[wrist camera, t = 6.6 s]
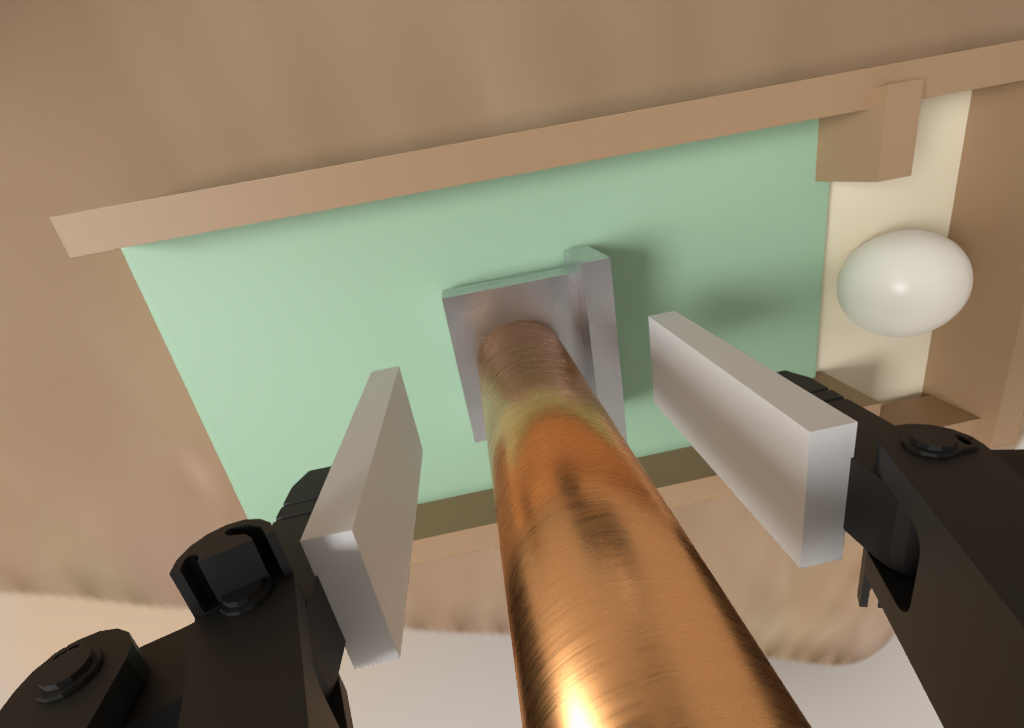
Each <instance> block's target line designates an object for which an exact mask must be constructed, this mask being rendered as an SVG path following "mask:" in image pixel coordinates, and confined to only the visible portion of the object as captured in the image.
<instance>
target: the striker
mask: <svg viewBox="0 0 1024 728" xmlns="http://www.w3.org/2000/svg"><path fill="white" fill-rule="evenodd" d="M563 253H564V261H565V266H563V267H558V268H553V269H548V270H542V271H537V272H532V273H527V274H522V275H517V276H512V277H506V278H501V279H496V280H491V281H486V282H481V283H476V284H471V285H465V286H460V287H455V288H450V289H445V290H443V291H442V302H443V306H444V311H445V315H446V319H447V324H448V328H449V332H450V337H451V341H452V345H453V350H454V354H455V358H456V362H457V367H458V371H459V375H460V380H461V384H462V388H463V393H464V397H465V401H466V406H467V410H468V414H469V419H470V423H471V427H472V431H473V436H474V440H475V443H477V442H482V441H487V447H488V455H489V463H490V471H491V479H492V487H493V495H494V503H495V511H496V519H497V527H498V535H499V543H500V551H501V559H502V567H503V575H504V583H505V591H506V599H507V607H508V615H509V623H510V631H511V639H512V647H513V655H514V663H515V671H516V679H517V687H518V695H519V703H520V711H521V719H522V728H812V727H811V726H810V724H809V723H808V721H807V720H806V718H805V717H804V715H803V714H802V712H801V711H800V709H799V707H798V706H797V704H796V703H795V701H794V700H793V698H792V697H791V695H790V693H789V692H788V691H787V689H786V687H785V686H784V685H783V683H782V681H781V680H780V678H779V677H778V675H777V673H776V672H775V671H774V669H773V667H772V666H771V664H770V663H769V661H768V660H767V658H766V656H765V655H764V653H763V652H762V650H761V649H760V647H759V646H758V644H757V643H756V641H755V640H754V638H753V636H752V635H751V633H750V632H749V630H748V629H747V627H746V626H745V624H744V623H743V621H742V619H741V618H740V616H739V615H738V613H737V612H736V610H735V609H734V607H733V606H732V604H731V603H730V601H729V599H728V598H727V596H726V595H725V593H724V592H723V590H722V589H721V587H720V586H719V584H718V583H717V581H716V579H715V578H714V576H713V575H712V573H711V572H710V570H709V569H708V567H707V566H706V564H705V563H704V561H703V559H702V558H701V556H700V555H699V553H698V552H697V550H696V549H695V547H694V546H693V544H692V542H691V541H690V539H689V538H688V536H687V535H686V533H685V532H684V530H683V529H682V527H681V526H680V524H679V522H678V521H677V519H676V518H675V516H674V515H673V513H672V512H671V510H670V509H669V507H668V506H667V504H666V502H665V501H664V499H663V498H662V496H661V495H660V493H659V492H658V490H657V489H656V487H655V485H654V484H653V482H652V481H651V479H650V478H649V476H648V475H647V473H646V472H645V470H644V469H643V467H642V465H641V464H640V462H639V461H638V459H637V458H636V456H635V455H634V453H633V452H632V450H631V449H630V447H629V445H628V443H627V432H626V421H625V411H624V400H623V389H622V378H621V368H620V357H619V346H618V336H617V325H616V314H615V304H614V293H613V282H612V272H611V261H610V257H608V256H606V255H604V254H602V253H601V252H599V251H597V250H595V249H593V248H591V247H589V246H584V247H579V248H574V249H568V250H563Z"/></svg>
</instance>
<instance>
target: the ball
mask: <svg viewBox="0 0 1024 728" xmlns="http://www.w3.org/2000/svg"><path fill="white" fill-rule="evenodd" d="M972 287H973V269H972V265H971V262H970V260H969V258H968V256H967V255H966V253H965V252H964V251H963V249H962V248H961V247H960V246H959V245H957V244H956V243H955V242H954V241H952V240H950V239H949V238H947V237H945V236H943V235H940V234H938V233H934V232H931V231H926V230H917V229H909V230H898V231H893V232H889V233H886V234H882V235H880V236H877V237H875V238H873V239H871V240H869V241H868V242H866V243H864V244H863V245H861V246H860V247H859V248H858V249H857V250H855V251H854V252H853V253H852V254H851V255H850V256H849V258H848V259H847V260H846V262H845V263H844V265H843V267H842V269H841V271H840V273H839V276H838V280H837V298H838V301H839V304H840V306H841V308H842V310H843V312H844V313H845V315H846V316H847V317H848V318H849V319H850V320H851V321H852V322H853V323H854V324H856V325H857V326H859V327H860V328H862V329H864V330H866V331H868V332H871V333H874V334H877V335H881V336H886V337H910V336H915V335H920V334H924V333H927V332H930V331H932V330H934V329H936V328H938V327H940V326H942V325H944V324H945V323H947V322H948V321H950V320H951V319H952V318H953V317H954V316H956V315H957V314H958V313H959V311H960V310H961V309H962V308H963V306H964V305H965V304H966V302H967V300H968V298H969V296H970V294H971V291H972Z"/></svg>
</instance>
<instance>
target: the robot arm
mask: <svg viewBox="0 0 1024 728" xmlns="http://www.w3.org/2000/svg"><path fill="white" fill-rule="evenodd" d="M648 320H649V335H650V349H651V364H652V379H653V394H654V403H655V405H656V406H657V407H658V408H659V409H660V410H661V411H662V412H663V414H664V415H665V416H666V417H667V418H668V419H669V420H670V421H671V423H672V424H673V425H674V426H675V427H676V428H677V429H678V431H679V432H680V433H681V434H682V435H683V436H684V437H685V438H686V440H687V441H688V442H689V443H690V444H691V445H692V446H693V447H694V449H695V450H696V451H697V452H698V453H699V454H700V455H701V457H702V458H703V459H704V460H705V461H706V462H707V463H708V464H709V466H710V467H711V468H712V469H713V470H714V471H715V472H716V474H717V475H718V476H719V477H720V478H721V479H722V480H723V481H724V483H725V484H726V485H727V486H728V487H729V488H730V489H731V490H732V492H733V493H734V494H735V495H736V496H737V497H738V498H739V500H740V501H741V502H742V503H743V504H744V505H745V506H746V507H747V509H748V510H749V511H750V512H751V513H752V514H753V515H754V516H755V518H756V519H757V520H758V521H759V522H760V523H761V524H762V526H763V527H764V528H765V529H766V530H767V531H768V532H769V533H770V535H771V536H772V537H773V538H774V539H775V540H776V541H777V542H778V544H779V545H780V546H781V547H782V548H783V549H784V550H785V552H786V553H787V554H788V555H789V556H790V557H791V558H792V559H793V561H794V562H795V563H796V564H797V565H798V566H799V567H800V568H804V567H808V566H813V565H817V564H821V563H826V562H830V561H835V560H839V559H842V556H843V547H844V538H845V531H846V532H847V533H849V534H850V535H851V536H852V537H853V538H854V539H855V540H856V541H857V542H858V543H860V544H861V545H862V546H863V547H864V549H863V556H862V564H861V571H860V579H859V586H858V594H857V596H858V601H859V606H860V607H867V605H868V598H869V591H870V590H871V588H872V589H873V591H874V593H875V595H876V597H877V599H878V608H883V610H884V612H885V614H886V616H887V618H888V620H889V622H890V624H891V626H892V628H893V630H894V632H895V634H896V636H897V637H898V639H899V641H900V643H901V645H902V647H903V649H904V651H905V653H906V655H907V656H908V659H909V661H910V663H911V665H912V667H913V668H914V670H915V672H916V674H917V676H918V678H919V680H920V682H921V684H922V686H923V688H924V690H925V692H926V693H927V696H928V698H929V700H930V702H931V704H932V705H933V707H934V709H935V711H936V713H937V715H938V717H939V719H940V721H941V723H942V725H943V727H944V728H1024V450H990V449H989V448H988V447H987V446H986V445H985V444H983V443H981V442H980V441H978V440H977V439H975V438H973V437H972V436H970V435H967V434H964V433H961V432H959V431H956V430H953V429H950V428H945V427H940V426H935V425H928V424H902V425H893V424H891V423H890V422H888V421H886V420H884V419H883V418H881V417H879V416H877V415H875V414H874V413H872V412H870V411H868V410H867V409H865V408H863V407H861V406H860V405H858V404H856V403H854V402H852V401H851V400H849V399H844V397H843V396H842V395H840V394H838V393H837V392H835V391H833V390H828V387H826V386H824V385H822V384H821V383H819V382H817V381H815V380H814V379H812V378H810V377H807V376H803V375H800V374H796V373H793V372H789V371H786V370H783V371H779V372H775V371H773V370H771V369H770V368H768V367H766V366H765V365H763V364H761V363H760V362H758V361H757V360H755V359H753V358H752V357H750V356H748V355H747V354H745V353H743V352H742V351H740V350H738V349H737V348H735V347H734V346H732V345H730V344H729V343H727V342H725V341H724V340H722V339H720V338H719V337H717V336H715V335H714V334H712V333H710V332H709V331H707V330H706V329H704V328H702V327H701V326H699V325H697V324H696V323H694V322H692V321H691V320H689V319H687V318H686V317H684V316H683V315H681V314H679V313H678V312H676V311H671V312H666V313H661V314H656V315H651V316H648ZM422 456H423V449H422V445H421V442H420V438H419V435H418V431H417V428H416V424H415V421H414V417H413V413H412V410H411V406H410V403H409V399H408V396H407V392H406V389H405V385H404V381H403V378H402V374H401V371H400V367H399V366H397V367H392V368H387V369H382V370H377V371H372V372H371V374H370V376H369V379H368V381H367V383H366V386H365V388H364V390H363V393H362V395H361V397H360V400H359V402H358V405H357V407H356V409H355V412H354V414H353V416H352V419H351V421H350V424H349V426H348V428H347V431H346V433H345V435H344V438H343V440H342V443H341V445H340V447H339V450H338V452H337V454H336V457H335V459H334V461H333V464H332V466H330V467H325V468H320V469H315V470H310V471H308V472H307V473H306V474H305V475H304V476H303V477H302V478H301V479H300V480H299V481H298V482H297V483H296V484H295V485H294V486H293V487H292V488H291V490H290V492H289V494H288V496H287V498H286V499H285V501H284V503H283V507H281V509H280V511H279V513H278V515H277V517H276V522H273V524H272V525H271V523H270V522H268V521H265V520H262V519H246V520H242V521H238V522H235V523H232V524H228V525H226V526H224V527H221V528H219V529H217V530H215V531H213V532H211V533H209V534H207V535H206V536H204V537H203V538H202V539H200V540H199V541H197V542H196V543H194V544H193V545H192V546H190V547H189V548H188V549H187V550H186V551H185V552H184V553H183V554H182V555H181V556H180V557H179V558H178V559H177V560H176V562H175V564H174V566H173V568H172V570H171V572H170V576H171V577H172V579H173V581H174V583H175V584H176V586H177V588H178V590H179V591H180V593H181V595H182V596H183V598H184V600H185V602H186V603H187V605H188V607H189V609H190V610H191V612H192V614H193V616H194V617H195V622H194V623H192V624H190V625H189V626H186V627H184V628H182V629H180V630H178V631H175V632H173V633H171V634H169V635H167V636H165V637H162V638H160V639H158V640H155V641H153V642H151V643H149V644H146V645H144V646H142V647H140V648H139V647H138V646H137V644H136V643H135V641H134V640H133V638H132V637H131V635H130V633H129V632H127V631H124V630H120V629H111V630H105V631H99V632H97V633H94V634H92V635H89V636H87V637H84V638H82V639H80V640H77V641H76V642H74V643H72V644H70V645H68V646H67V647H66V648H63V649H61V650H60V651H58V652H57V653H55V654H54V655H52V656H51V657H50V658H49V659H48V660H47V661H46V662H44V663H43V664H42V665H41V666H39V667H38V668H37V669H36V670H34V671H33V672H32V673H31V674H30V675H29V676H28V677H27V678H26V680H25V681H24V682H23V683H22V684H21V685H20V686H19V687H18V688H17V689H16V691H15V692H14V693H13V694H12V696H11V697H10V698H9V700H8V701H7V702H6V704H5V705H4V706H3V708H2V709H1V710H0V728H353V724H352V718H351V713H350V707H349V702H348V696H347V691H346V689H345V686H344V684H343V682H342V680H341V678H340V675H339V669H340V664H341V660H342V656H343V652H344V647H346V650H347V652H348V655H349V657H350V659H351V661H352V664H353V665H354V668H355V669H356V668H361V667H365V666H369V665H374V664H378V663H382V662H387V661H391V660H396V659H399V658H400V653H401V644H402V635H403V626H404V617H405V608H406V599H407V590H408V581H409V572H410V564H411V555H412V546H413V537H414V528H415V519H416V510H417V501H418V492H419V483H420V474H421V465H422Z"/></svg>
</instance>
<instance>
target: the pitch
mask: <svg viewBox="0 0 1024 728" xmlns="http://www.w3.org/2000/svg"><path fill="white" fill-rule="evenodd" d="M49 218H50V219H51V221H52V223H53V225H54V227H55V229H56V231H57V233H58V235H59V237H60V239H61V241H62V243H63V245H64V247H65V249H66V251H67V253H68V255H69V256H70V257H76V256H81V255H87V254H92V253H97V252H103V251H108V250H113V249H119V248H121V250H122V252H123V254H124V256H125V258H126V260H127V263H128V265H129V267H130V269H131V271H132V273H133V275H134V277H135V280H136V282H137V284H138V286H139V288H140V290H141V292H142V294H143V297H144V299H145V301H146V303H147V305H148V307H149V309H150V311H151V314H152V316H153V318H154V320H155V322H156V324H157V326H158V328H159V331H160V333H161V335H162V337H163V339H164V341H165V343H166V345H167V348H168V350H169V352H170V354H171V356H172V358H173V360H174V362H175V365H176V367H177V369H178V371H179V373H180V375H181V377H182V379H183V382H184V384H185V386H186V388H187V390H188V392H189V394H190V396H191V399H192V401H193V403H194V405H195V407H196V409H197V411H198V414H199V416H200V418H201V420H202V422H203V424H204V426H205V428H206V431H207V433H208V435H209V437H210V439H211V441H212V443H213V445H214V448H215V450H216V452H217V454H218V456H219V458H220V460H221V462H222V465H223V467H224V469H225V471H226V473H227V475H228V477H229V479H230V482H231V484H232V486H233V488H234V490H235V492H236V494H237V496H238V499H239V501H240V503H241V505H242V507H243V509H244V511H245V513H246V516H247V518H248V519H262V520H265V521H268V522H270V523H271V525H272V524H273V522H276V517H277V515H278V513H279V511H280V509H281V507H283V503H284V501H285V499H286V498H287V496H288V494H289V492H290V490H291V488H292V487H293V486H294V485H295V484H296V483H297V482H298V481H299V480H300V479H301V478H302V477H303V476H304V475H305V474H306V473H307V472H308V471H310V470H315V469H320V468H325V467H330V466H332V464H333V461H334V459H335V457H336V454H337V452H338V450H339V447H340V445H341V443H342V440H343V438H344V435H345V433H346V431H347V428H348V426H349V424H350V421H351V419H352V416H353V414H354V412H355V409H356V407H357V405H358V402H359V400H360V397H361V395H362V393H363V390H364V388H365V386H366V383H367V381H368V379H369V376H370V374H371V372H372V371H377V370H382V369H387V368H392V367H397V366H399V367H400V371H401V374H402V378H403V381H404V385H405V389H406V392H407V396H408V399H409V403H410V406H411V410H412V413H413V417H414V421H415V424H416V428H417V431H418V435H419V438H420V442H421V445H422V449H423V456H422V465H421V474H420V483H419V492H418V501H417V510H416V519H415V528H414V537H413V546H412V555H411V564H410V565H413V564H417V563H422V562H426V561H431V560H436V559H440V558H445V557H449V556H454V555H458V554H463V553H468V552H472V551H477V550H481V549H486V548H491V547H495V546H500V543H499V535H498V527H497V519H496V511H495V503H494V495H493V487H492V479H491V471H490V463H489V455H488V447H487V441H482V442H477V443H475V440H474V436H473V431H472V427H471V423H470V419H469V414H468V410H467V406H466V401H465V397H464V393H463V388H462V384H461V380H460V375H459V371H458V367H457V362H456V358H455V354H454V350H453V345H452V341H451V337H450V332H449V328H448V324H447V319H446V315H445V311H444V306H443V302H442V291H443V290H445V289H450V288H455V287H460V286H465V285H471V284H476V283H481V282H486V281H491V280H496V279H501V278H506V277H512V276H517V275H522V274H527V273H532V272H537V271H542V270H548V269H553V268H558V267H563V266H565V261H564V253H563V250H568V249H574V248H579V247H584V246H589V247H591V248H593V249H595V250H597V251H599V252H601V253H602V254H604V255H606V256H608V257H610V261H611V272H612V282H613V293H614V304H615V314H616V325H617V336H618V346H619V357H620V368H621V378H622V389H623V400H624V411H625V421H626V432H627V443H628V445H629V447H630V449H631V450H632V452H633V453H634V455H635V456H636V458H637V459H638V461H639V462H640V464H641V465H642V467H643V469H644V470H645V472H646V473H647V475H648V476H649V478H650V479H651V481H652V482H653V484H654V485H655V487H656V489H657V490H658V492H659V493H660V495H661V496H662V498H663V499H664V501H665V502H666V504H667V506H668V507H669V509H670V508H674V507H679V506H684V505H688V504H693V503H697V502H702V501H706V500H711V499H716V498H720V497H725V496H729V495H734V493H733V492H732V490H731V489H730V488H729V487H728V486H727V485H726V484H725V483H724V481H723V480H722V479H721V478H720V477H719V476H718V475H717V474H716V472H715V471H714V470H713V469H712V468H711V467H710V466H709V464H708V463H707V462H706V461H705V460H704V459H703V458H702V457H701V455H700V454H699V453H698V452H697V451H696V450H695V449H694V447H693V446H692V445H691V444H690V443H689V442H688V441H687V440H686V438H685V437H684V436H683V435H682V434H681V433H680V432H679V431H678V429H677V428H676V427H675V426H674V425H673V424H672V423H671V421H670V420H669V419H668V418H667V417H666V416H665V415H664V414H663V412H662V411H661V410H660V409H659V408H658V407H657V406H656V405H655V403H654V394H653V379H652V364H651V349H650V335H649V320H648V316H651V315H656V314H661V313H666V312H671V311H676V312H678V313H679V314H681V315H683V316H684V317H686V318H687V319H689V320H691V321H692V322H694V323H696V324H697V325H699V326H701V327H702V328H704V329H706V330H707V331H709V332H710V333H712V334H714V335H715V336H717V337H719V338H720V339H722V340H724V341H725V342H727V343H729V344H730V345H732V346H734V347H735V348H737V349H738V350H740V351H742V352H743V353H745V354H747V355H748V356H750V357H752V358H753V359H755V360H757V361H758V362H760V363H761V364H763V365H765V366H766V367H768V368H770V369H771V370H773V371H775V372H779V371H783V370H786V371H789V372H793V373H796V374H800V375H803V376H807V377H810V378H812V379H814V380H815V381H817V382H819V383H821V384H822V385H824V386H826V387H828V390H833V391H835V392H837V393H838V394H840V395H842V396H843V397H844V399H849V400H851V401H852V402H854V403H856V404H858V405H860V406H861V407H863V408H865V409H867V410H868V411H870V412H872V413H874V414H875V415H877V416H879V417H881V418H883V419H884V420H886V421H888V422H890V423H891V424H893V425H902V424H928V425H935V426H940V427H945V428H950V429H953V430H956V431H959V432H961V433H964V434H967V435H970V436H972V437H973V438H975V439H977V440H978V441H980V442H981V443H983V444H985V445H986V446H987V447H988V448H990V449H991V448H996V447H1001V446H1005V445H1010V444H1014V443H1016V441H1017V438H1018V434H1019V430H1020V426H1021V422H1022V418H1023V414H1024V40H1019V41H1014V42H1008V43H1003V44H997V45H992V46H986V47H981V48H976V49H970V50H965V51H959V52H954V53H948V54H943V55H937V56H932V57H926V58H921V59H915V60H910V61H904V62H899V63H893V64H888V65H882V66H877V67H871V68H866V69H860V70H855V71H849V72H844V73H838V74H833V75H827V76H822V77H816V78H811V79H805V80H800V81H795V82H789V83H784V84H778V85H773V86H767V87H762V88H756V89H751V90H745V91H740V92H734V93H729V94H723V95H718V96H712V97H707V98H701V99H696V100H690V101H685V102H679V103H674V104H668V105H663V106H657V107H652V108H646V109H641V110H635V111H630V112H625V113H619V114H614V115H608V116H603V117H597V118H592V119H586V120H581V121H575V122H570V123H564V124H559V125H553V126H548V127H542V128H537V129H531V130H526V131H520V132H515V133H509V134H504V135H498V136H493V137H487V138H482V139H476V140H471V141H465V142H460V143H454V144H449V145H444V146H438V147H433V148H427V149H422V150H416V151H411V152H405V153H400V154H394V155H389V156H383V157H378V158H372V159H367V160H361V161H356V162H350V163H345V164H339V165H334V166H328V167H323V168H317V169H312V170H306V171H301V172H295V173H290V174H284V175H279V176H274V177H268V178H263V179H257V180H252V181H246V182H241V183H235V184H230V185H224V186H219V187H213V188H208V189H202V190H197V191H191V192H186V193H180V194H175V195H169V196H164V197H158V198H153V199H147V200H142V201H136V202H131V203H125V204H120V205H114V206H109V207H103V208H98V209H93V210H87V211H82V212H76V213H71V214H65V215H60V216H54V217H49ZM909 229H917V230H926V231H931V232H934V233H938V234H940V235H943V236H945V237H947V238H949V239H950V240H952V241H954V242H955V243H956V244H957V245H959V246H960V247H961V248H962V249H963V251H964V252H965V253H966V255H967V256H968V258H969V260H970V262H971V265H972V269H973V287H972V291H971V294H970V296H969V298H968V300H967V302H966V304H965V305H964V306H963V308H962V309H961V310H960V311H959V313H958V314H957V315H956V316H954V317H953V318H952V319H951V320H950V321H948V322H947V323H945V324H944V325H942V326H940V327H938V328H936V329H934V330H932V331H930V332H927V333H924V334H920V335H915V336H910V337H886V336H881V335H877V334H874V333H871V332H868V331H866V330H864V329H862V328H860V327H859V326H857V325H856V324H854V323H853V322H852V321H851V320H850V319H849V318H848V317H847V316H846V315H845V313H844V312H843V310H842V308H841V306H840V304H839V301H838V298H837V280H838V276H839V273H840V271H841V269H842V267H843V265H844V263H845V262H846V260H847V259H848V258H849V256H850V255H851V254H852V253H853V252H854V251H855V250H857V249H858V248H859V247H860V246H861V245H863V244H864V243H866V242H868V241H869V240H871V239H873V238H875V237H877V236H880V235H882V234H886V233H889V232H893V231H898V230H909Z"/></svg>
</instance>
